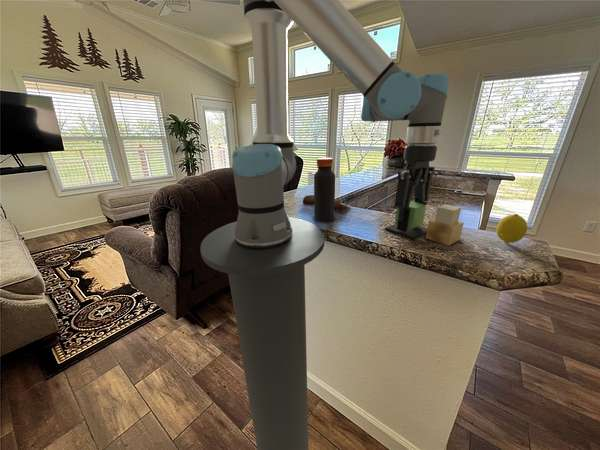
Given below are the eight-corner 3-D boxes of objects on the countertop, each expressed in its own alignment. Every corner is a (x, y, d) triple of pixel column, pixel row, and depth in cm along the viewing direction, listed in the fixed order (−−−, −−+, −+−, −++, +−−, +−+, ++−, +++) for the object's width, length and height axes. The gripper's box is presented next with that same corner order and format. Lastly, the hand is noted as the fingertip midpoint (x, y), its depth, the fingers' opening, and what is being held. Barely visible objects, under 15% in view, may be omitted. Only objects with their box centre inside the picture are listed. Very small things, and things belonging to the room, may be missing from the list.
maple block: (425, 238, 64) (428, 221, 63) (436, 232, 67) (440, 216, 66) (448, 246, 60) (452, 227, 58) (459, 239, 63) (463, 222, 61)
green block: (394, 223, 69) (397, 203, 67) (405, 219, 72) (408, 200, 70) (412, 229, 65) (415, 208, 63) (423, 224, 68) (426, 204, 66)
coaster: (385, 229, 71) (385, 227, 70) (403, 222, 75) (403, 220, 75) (412, 239, 64) (413, 237, 64) (430, 231, 68) (431, 229, 68)
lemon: (493, 237, 64) (502, 209, 61) (520, 242, 60) (531, 213, 57) (492, 244, 60) (501, 214, 57) (521, 250, 57) (532, 219, 54)
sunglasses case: (351, 206, 90) (348, 194, 86) (343, 219, 87) (338, 207, 83) (314, 199, 101) (309, 188, 97) (306, 211, 99) (300, 199, 94)
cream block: (434, 221, 62) (437, 206, 61) (442, 218, 64) (445, 204, 63) (450, 225, 59) (453, 210, 58) (457, 222, 61) (461, 207, 60)
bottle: (312, 216, 83) (311, 158, 76) (330, 214, 84) (331, 157, 77) (317, 223, 77) (317, 160, 70) (336, 221, 78) (338, 159, 71)
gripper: (414, 147, 53) (400, 240, 62) (454, 143, 62) (437, 224, 71) (386, 146, 59) (377, 231, 67) (426, 142, 68) (414, 217, 77)
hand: (408, 227), depth 69 cm, fingers closed on green block, 5 cm apart
